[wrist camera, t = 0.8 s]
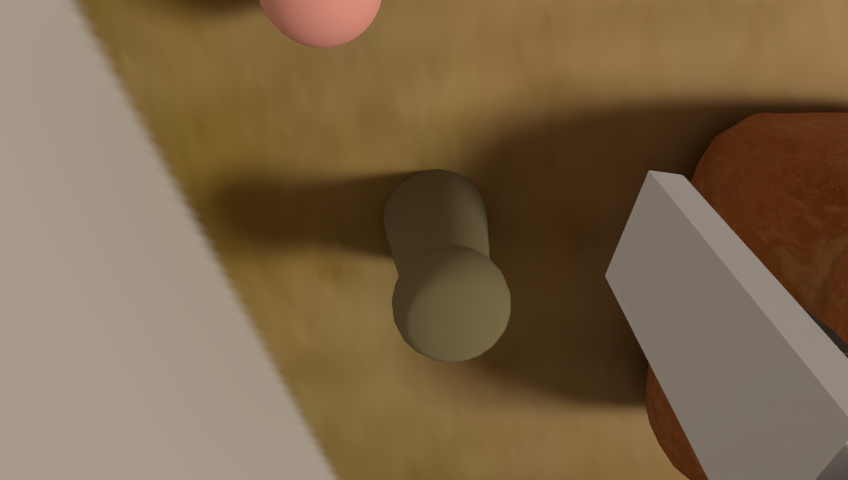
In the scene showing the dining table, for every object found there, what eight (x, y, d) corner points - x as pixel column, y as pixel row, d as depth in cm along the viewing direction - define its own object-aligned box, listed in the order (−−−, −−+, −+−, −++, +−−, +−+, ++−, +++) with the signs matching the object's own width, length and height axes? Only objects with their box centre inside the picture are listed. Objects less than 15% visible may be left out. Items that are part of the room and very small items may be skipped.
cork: (361, 226, 35) (352, 337, 25) (429, 148, 33) (448, 233, 23) (440, 283, 37) (461, 406, 27) (508, 211, 35) (558, 315, 25)
